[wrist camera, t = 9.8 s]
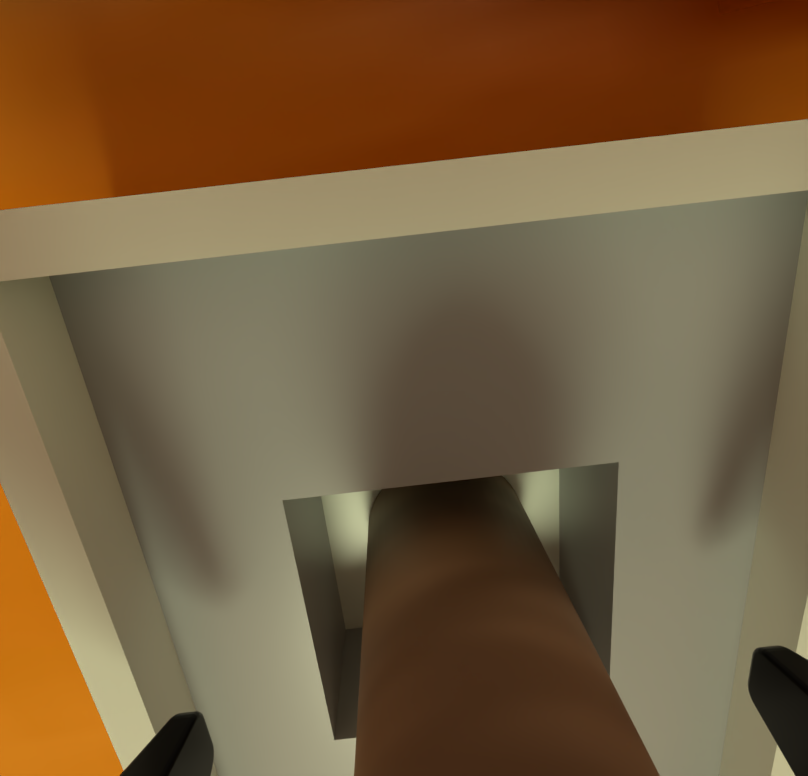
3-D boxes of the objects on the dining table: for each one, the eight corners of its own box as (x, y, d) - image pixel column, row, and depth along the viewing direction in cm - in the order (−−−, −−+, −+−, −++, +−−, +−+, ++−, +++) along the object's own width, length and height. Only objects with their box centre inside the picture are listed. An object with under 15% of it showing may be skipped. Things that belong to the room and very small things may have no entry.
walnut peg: (520, 447, 11) (788, 870, 4) (524, 580, 13) (732, 1096, 5) (358, 466, 11) (305, 926, 4) (378, 597, 13) (368, 1139, 5)
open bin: (702, 163, 10) (973, 100, 6) (656, 696, 15) (778, 903, 11) (118, 228, 10) (-111, 222, 6) (263, 740, 15) (208, 968, 11)
